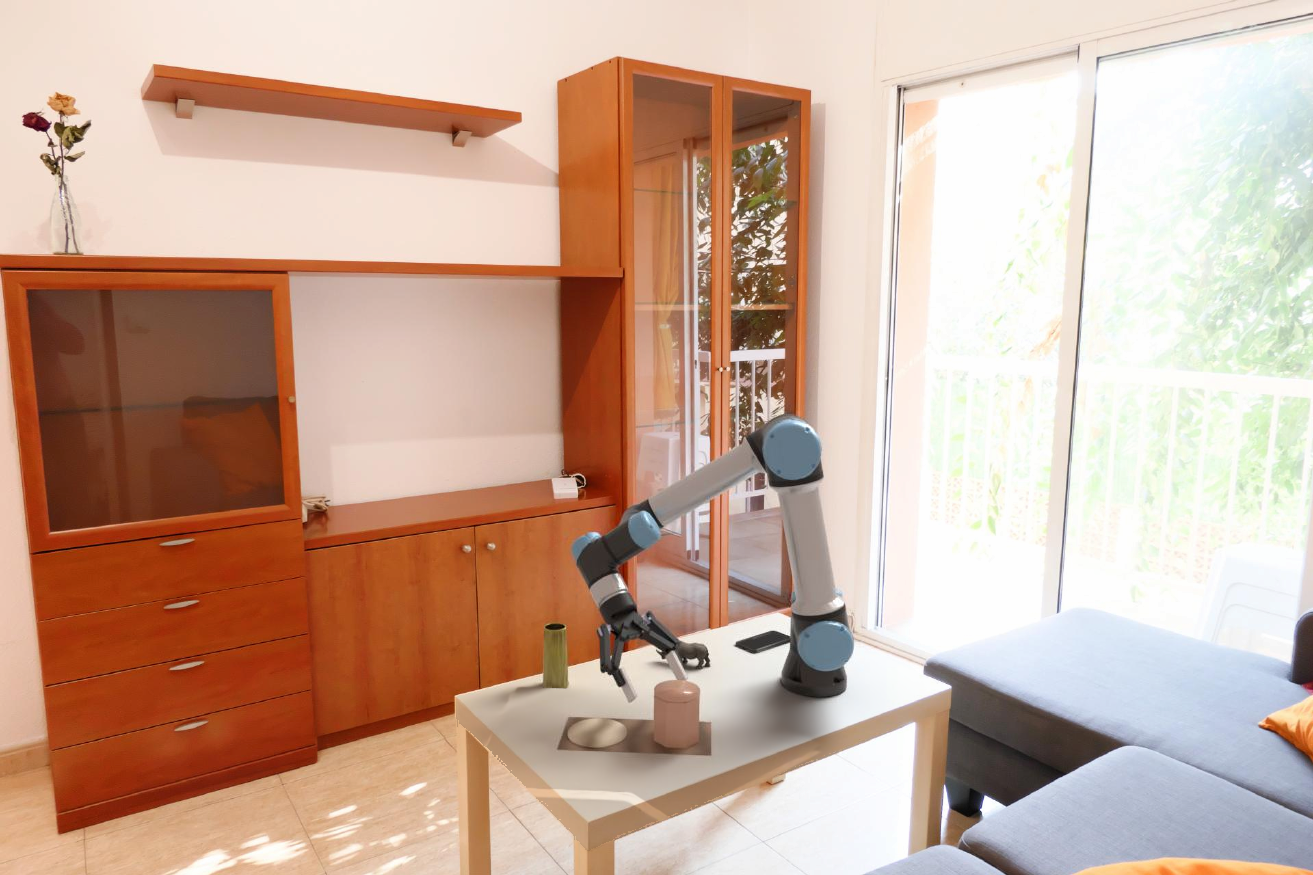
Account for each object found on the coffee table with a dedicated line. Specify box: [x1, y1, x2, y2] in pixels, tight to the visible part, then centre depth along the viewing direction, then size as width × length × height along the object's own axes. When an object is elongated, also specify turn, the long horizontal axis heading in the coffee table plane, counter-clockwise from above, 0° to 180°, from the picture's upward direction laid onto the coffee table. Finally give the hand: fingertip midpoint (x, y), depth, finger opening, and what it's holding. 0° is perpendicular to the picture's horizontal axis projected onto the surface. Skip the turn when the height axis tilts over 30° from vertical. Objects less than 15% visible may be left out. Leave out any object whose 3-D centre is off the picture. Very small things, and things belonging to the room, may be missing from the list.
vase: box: [541, 622, 570, 689], centre depth 201 cm, size 6×6×14 cm
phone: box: [735, 630, 790, 654], centre depth 230 cm, size 8×1×15 cm
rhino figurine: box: [655, 640, 711, 670], centre depth 215 cm, size 4×14×6 cm, turn 72°
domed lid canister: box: [653, 679, 701, 748], centre depth 175 cm, size 9×9×10 cm
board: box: [556, 716, 712, 757], centre depth 176 cm, size 30×14×1 cm, turn 86°
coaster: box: [568, 717, 627, 748], centre depth 176 cm, size 12×12×1 cm
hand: (659, 690), depth 177 cm, fingers open, 13 cm apart
